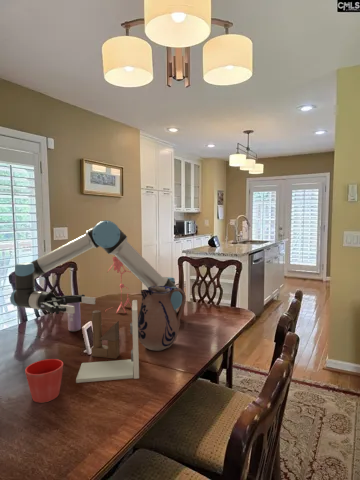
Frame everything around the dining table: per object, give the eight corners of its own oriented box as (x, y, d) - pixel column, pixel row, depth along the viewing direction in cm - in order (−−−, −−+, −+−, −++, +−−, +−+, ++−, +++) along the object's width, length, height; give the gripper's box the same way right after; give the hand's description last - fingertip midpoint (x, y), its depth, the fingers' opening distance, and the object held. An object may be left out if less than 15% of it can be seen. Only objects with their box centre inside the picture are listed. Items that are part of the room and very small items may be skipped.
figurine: (139, 304, 200) (136, 248, 197) (121, 317, 175) (117, 254, 173) (116, 303, 204) (113, 249, 201) (96, 316, 179) (92, 254, 177)
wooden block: (116, 359, 125) (114, 314, 124) (91, 356, 128) (89, 312, 126) (120, 355, 129) (118, 311, 127) (95, 352, 131) (94, 309, 130)
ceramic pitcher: (132, 342, 141) (131, 286, 139) (176, 334, 149) (175, 282, 147) (144, 358, 125) (142, 295, 123) (192, 349, 133) (192, 290, 131)
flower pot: (34, 387, 105) (32, 359, 104) (68, 385, 106) (67, 357, 105) (20, 407, 95) (19, 375, 94) (59, 404, 96) (57, 373, 95)
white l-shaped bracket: (138, 361, 123) (137, 299, 121) (139, 378, 110) (137, 310, 108) (82, 365, 120) (79, 302, 118) (75, 383, 107) (72, 313, 105)
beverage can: (83, 328, 160) (82, 298, 159) (75, 332, 155) (74, 301, 153) (73, 326, 162) (72, 297, 161) (65, 331, 156) (64, 300, 155)
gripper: (63, 301, 149) (102, 306, 141) (20, 318, 125) (64, 324, 118) (63, 285, 148) (102, 289, 141) (19, 299, 125) (63, 304, 118)
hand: (85, 305), depth 129 cm, fingers open, 13 cm apart
